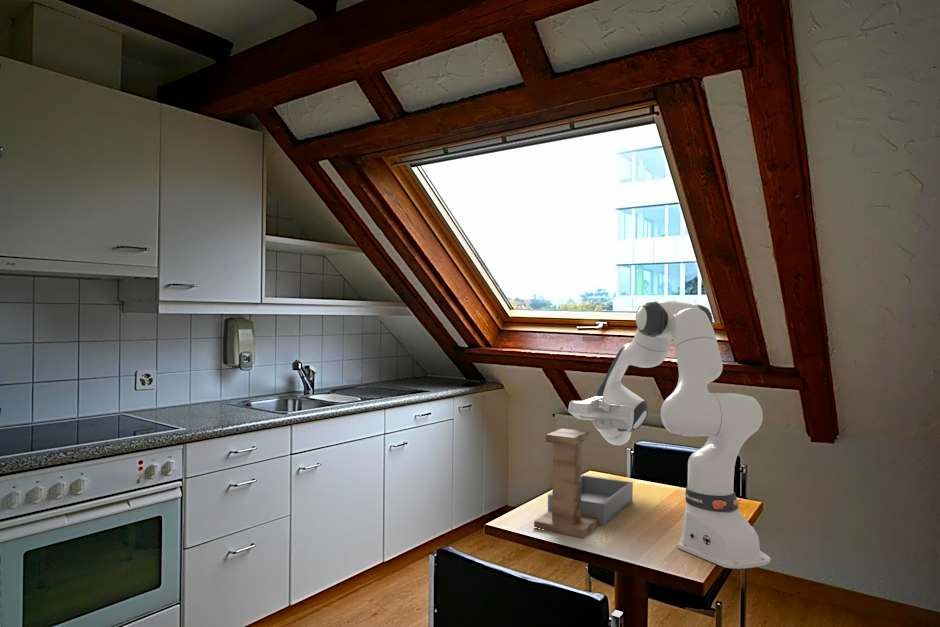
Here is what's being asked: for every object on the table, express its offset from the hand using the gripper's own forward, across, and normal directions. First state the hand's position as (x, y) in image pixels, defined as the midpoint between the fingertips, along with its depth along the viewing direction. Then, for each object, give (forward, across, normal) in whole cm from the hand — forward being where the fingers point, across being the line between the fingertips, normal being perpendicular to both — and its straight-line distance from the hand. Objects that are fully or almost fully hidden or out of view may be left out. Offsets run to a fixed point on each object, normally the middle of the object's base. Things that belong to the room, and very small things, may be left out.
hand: (593, 402), depth 193 cm
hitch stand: (+2, 0, +38) cm, 38 cm away
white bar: (+1, 0, +3) cm, 3 cm away
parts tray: (-15, 0, +28) cm, 32 cm away
